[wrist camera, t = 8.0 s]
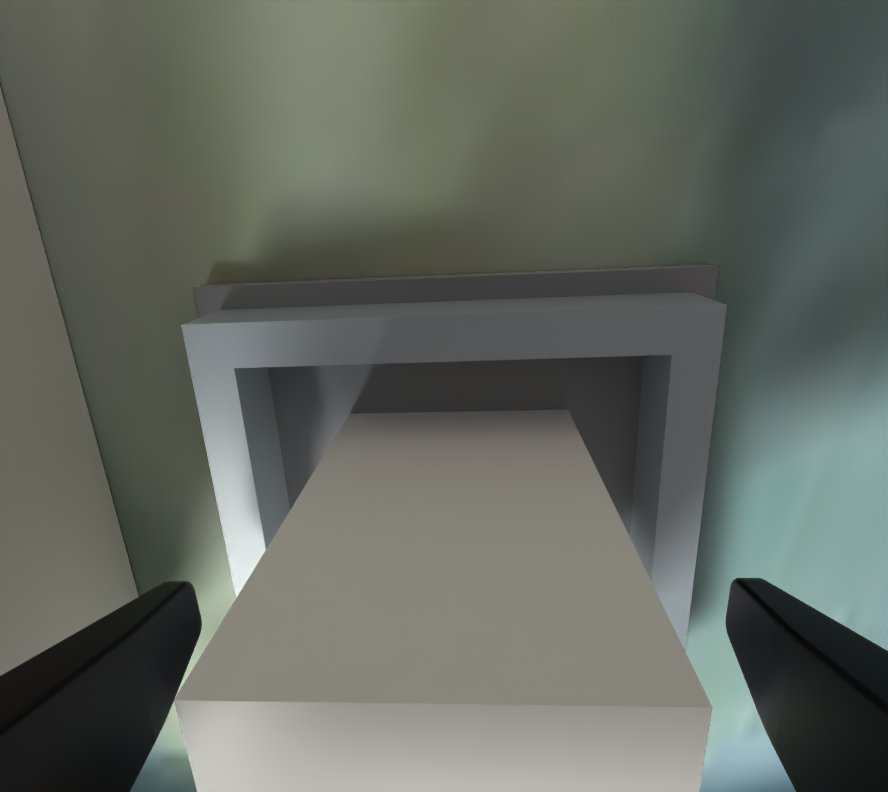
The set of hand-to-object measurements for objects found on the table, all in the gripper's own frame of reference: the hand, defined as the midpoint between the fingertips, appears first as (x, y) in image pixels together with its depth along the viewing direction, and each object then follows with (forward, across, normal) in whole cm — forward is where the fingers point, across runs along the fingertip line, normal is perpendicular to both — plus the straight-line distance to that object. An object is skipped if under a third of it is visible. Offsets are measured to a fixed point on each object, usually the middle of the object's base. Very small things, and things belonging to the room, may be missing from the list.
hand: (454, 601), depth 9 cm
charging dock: (+4, 0, 0) cm, 4 cm away
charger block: (+3, 0, 0) cm, 3 cm away
